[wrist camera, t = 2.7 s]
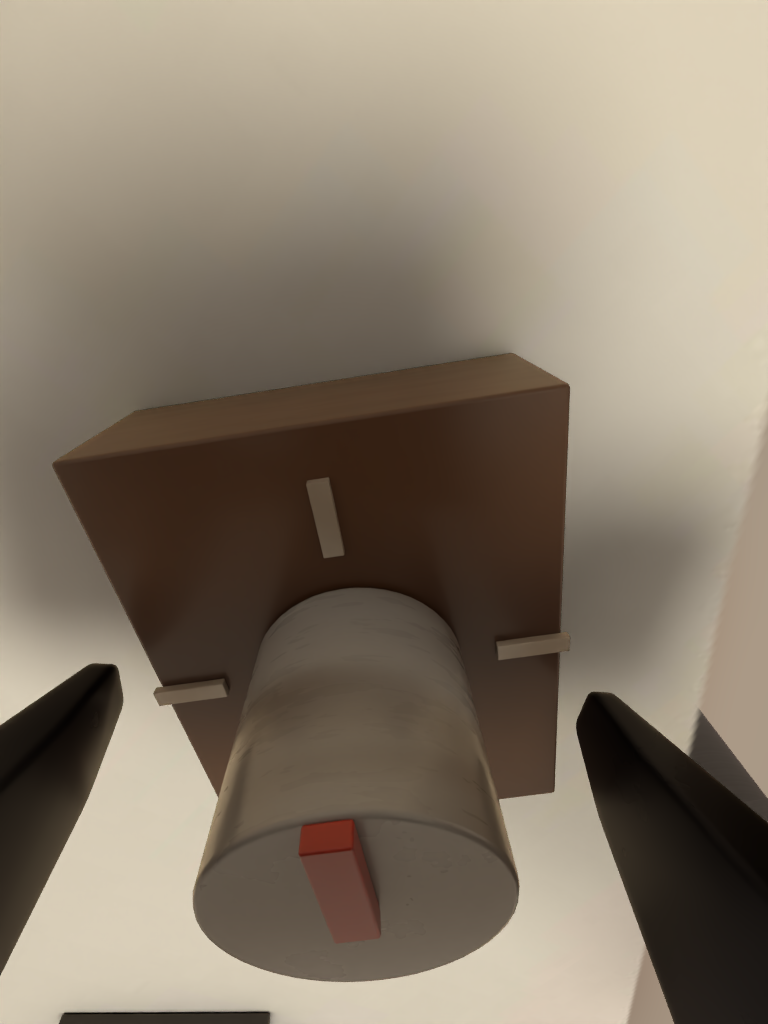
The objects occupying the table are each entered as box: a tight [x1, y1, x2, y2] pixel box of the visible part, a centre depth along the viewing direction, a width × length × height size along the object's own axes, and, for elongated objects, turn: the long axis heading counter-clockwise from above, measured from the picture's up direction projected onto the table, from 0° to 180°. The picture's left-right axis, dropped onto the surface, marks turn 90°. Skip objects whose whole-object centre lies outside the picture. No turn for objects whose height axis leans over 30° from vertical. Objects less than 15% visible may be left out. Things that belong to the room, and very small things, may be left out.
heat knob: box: [193, 587, 519, 982], centre depth 7 cm, size 4×4×4 cm
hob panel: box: [52, 353, 570, 799], centre depth 11 cm, size 10×8×3 cm
